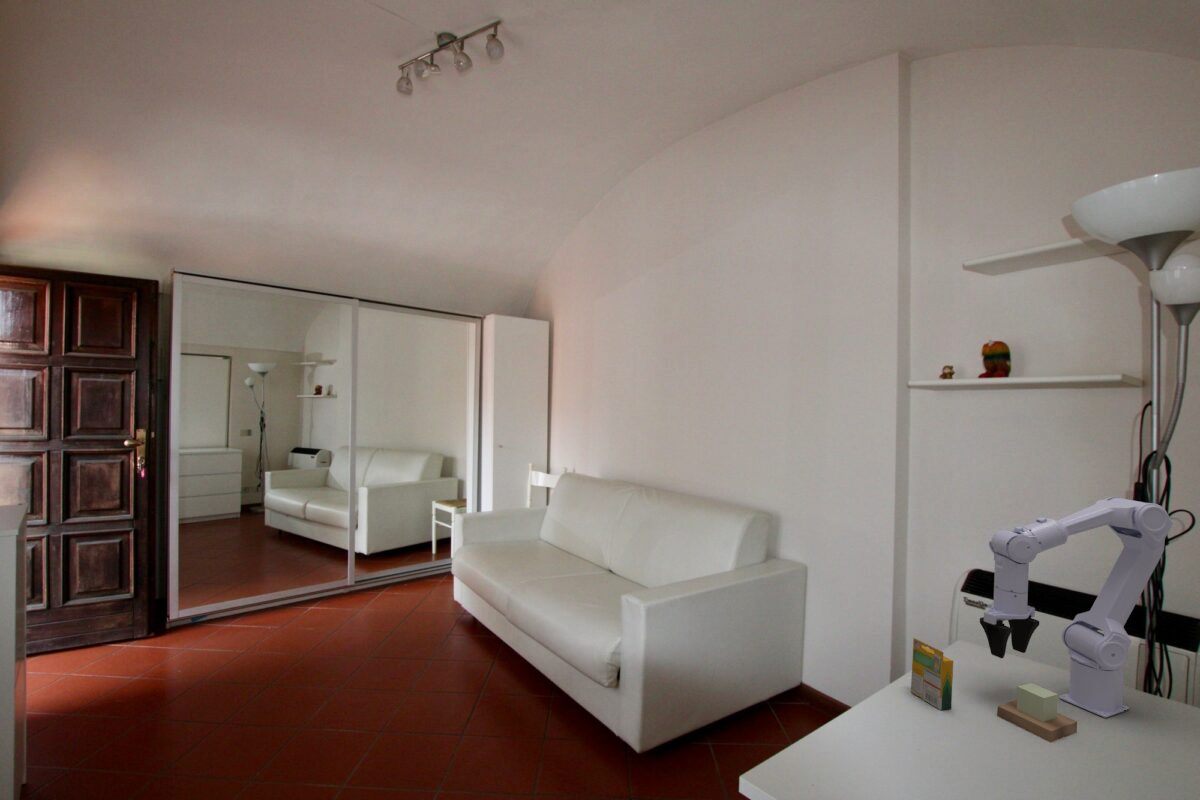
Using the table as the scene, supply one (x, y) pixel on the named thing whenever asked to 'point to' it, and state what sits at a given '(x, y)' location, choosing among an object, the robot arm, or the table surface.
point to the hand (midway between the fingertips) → (1008, 653)
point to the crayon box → (931, 675)
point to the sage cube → (1037, 702)
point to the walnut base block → (1037, 722)
